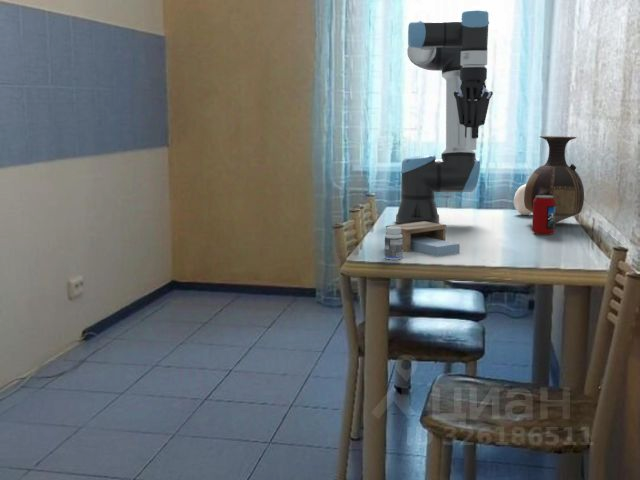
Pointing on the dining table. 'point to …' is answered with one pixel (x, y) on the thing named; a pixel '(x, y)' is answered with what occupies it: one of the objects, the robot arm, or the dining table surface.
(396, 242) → the pill bottle
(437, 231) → the shelf
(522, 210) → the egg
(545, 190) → the vase
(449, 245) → the panel
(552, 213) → the beverage can
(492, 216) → the dining table surface
